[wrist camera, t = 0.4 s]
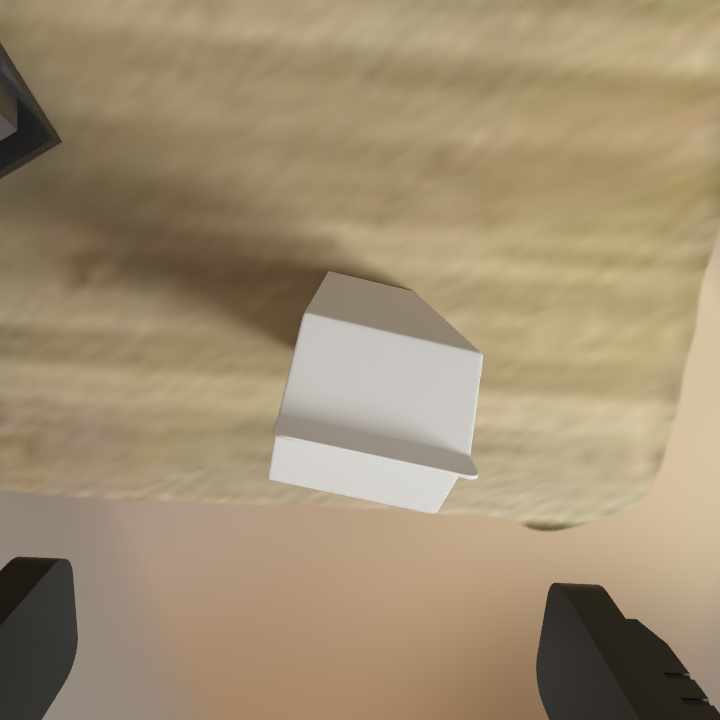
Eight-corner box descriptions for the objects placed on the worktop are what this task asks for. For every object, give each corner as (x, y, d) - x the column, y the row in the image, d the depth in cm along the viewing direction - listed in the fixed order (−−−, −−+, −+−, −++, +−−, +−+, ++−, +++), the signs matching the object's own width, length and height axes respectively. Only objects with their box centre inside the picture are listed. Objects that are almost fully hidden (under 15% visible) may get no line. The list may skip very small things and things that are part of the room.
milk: (328, 270, 35) (290, 321, 14) (416, 291, 36) (515, 373, 14) (308, 358, 37) (246, 530, 15) (394, 377, 37) (453, 572, 15)
